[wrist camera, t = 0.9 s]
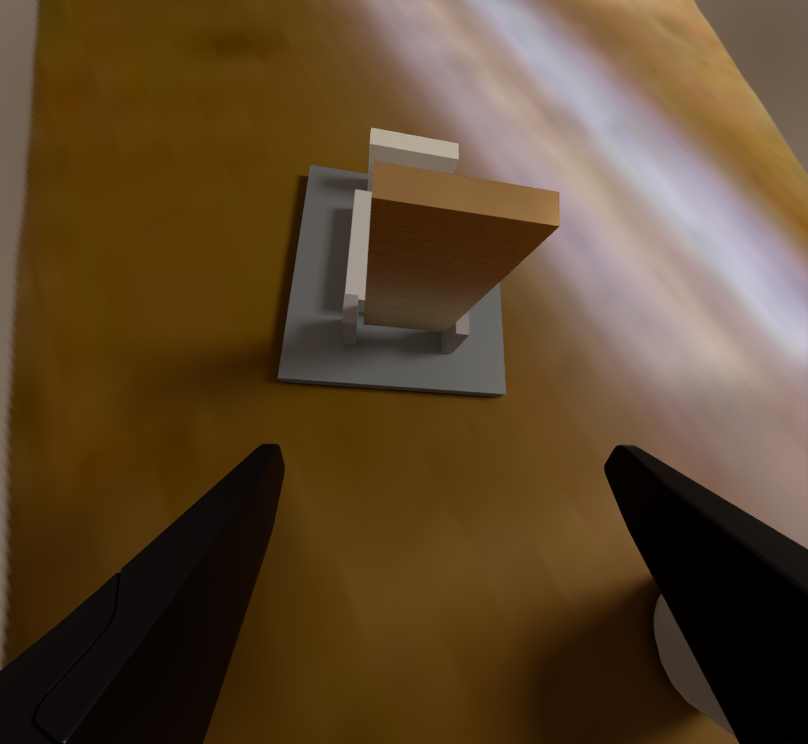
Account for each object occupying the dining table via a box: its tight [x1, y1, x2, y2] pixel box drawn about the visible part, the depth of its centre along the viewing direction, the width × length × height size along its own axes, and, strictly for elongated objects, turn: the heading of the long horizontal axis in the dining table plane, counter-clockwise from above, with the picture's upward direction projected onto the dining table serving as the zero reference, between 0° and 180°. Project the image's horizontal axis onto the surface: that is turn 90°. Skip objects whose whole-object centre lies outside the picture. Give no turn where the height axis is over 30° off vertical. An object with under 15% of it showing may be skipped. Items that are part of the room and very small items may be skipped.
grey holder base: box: [278, 128, 506, 397], centre depth 21 cm, size 17×15×5 cm
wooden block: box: [363, 161, 560, 332], centre depth 13 cm, size 1×5×11 cm, turn 88°
